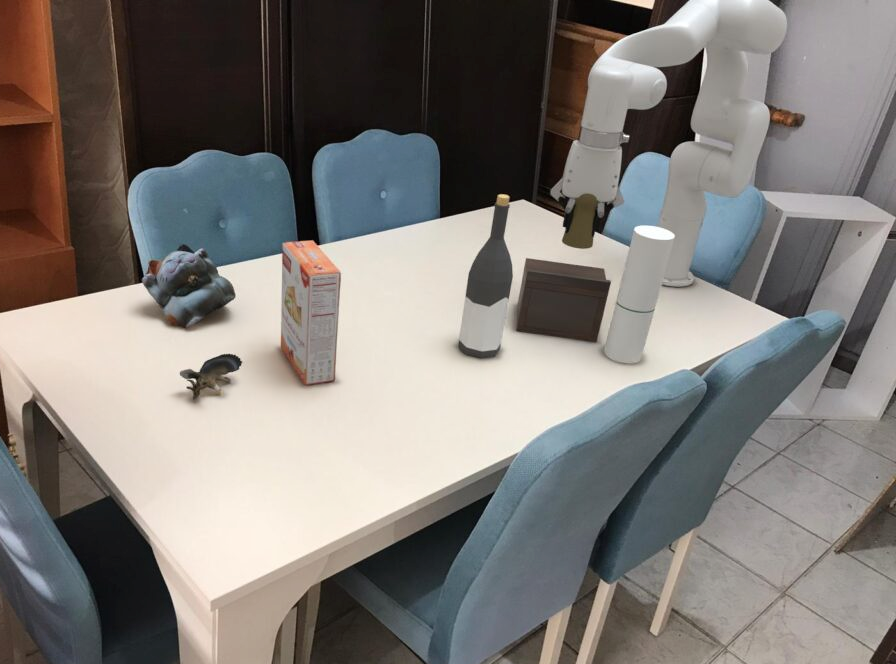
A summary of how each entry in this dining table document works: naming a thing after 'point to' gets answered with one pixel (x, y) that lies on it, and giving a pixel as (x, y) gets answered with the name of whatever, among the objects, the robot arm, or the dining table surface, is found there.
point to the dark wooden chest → (562, 300)
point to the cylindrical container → (638, 293)
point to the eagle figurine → (212, 373)
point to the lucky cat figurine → (187, 286)
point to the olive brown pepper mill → (582, 222)
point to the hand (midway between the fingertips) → (579, 231)
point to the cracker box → (309, 311)
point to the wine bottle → (488, 291)
